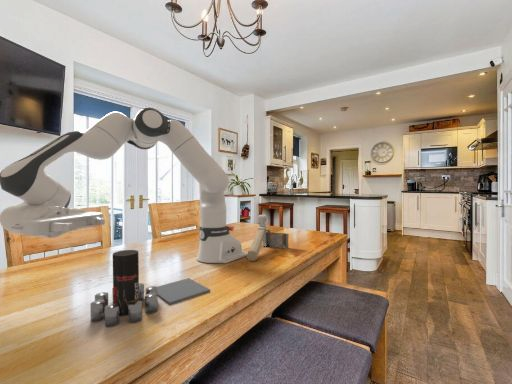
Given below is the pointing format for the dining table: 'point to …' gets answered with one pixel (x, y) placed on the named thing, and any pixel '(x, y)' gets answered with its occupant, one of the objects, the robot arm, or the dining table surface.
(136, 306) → the grey upright cylinders
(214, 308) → the dining table surface
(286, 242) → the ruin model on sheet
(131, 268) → the deodorant
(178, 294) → the slate mat
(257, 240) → the hammer
